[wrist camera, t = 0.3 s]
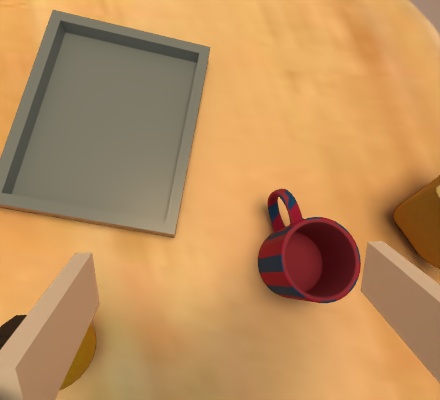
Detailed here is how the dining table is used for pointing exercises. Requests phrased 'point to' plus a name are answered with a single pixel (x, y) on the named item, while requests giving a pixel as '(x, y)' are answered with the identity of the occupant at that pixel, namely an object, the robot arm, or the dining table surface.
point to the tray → (105, 126)
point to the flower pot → (422, 221)
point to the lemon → (81, 358)
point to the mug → (307, 255)
